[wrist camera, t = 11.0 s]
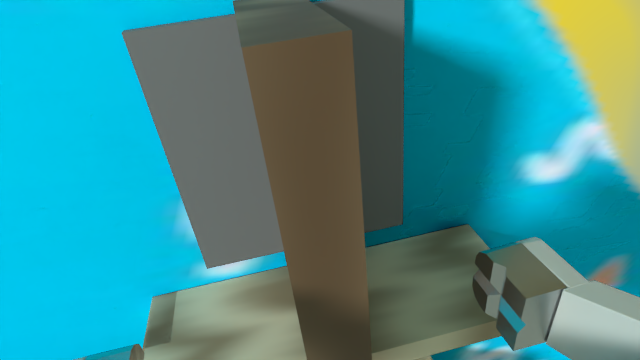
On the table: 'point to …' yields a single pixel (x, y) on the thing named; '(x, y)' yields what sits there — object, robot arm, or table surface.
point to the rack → (383, 296)
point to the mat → (242, 129)
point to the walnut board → (312, 165)
